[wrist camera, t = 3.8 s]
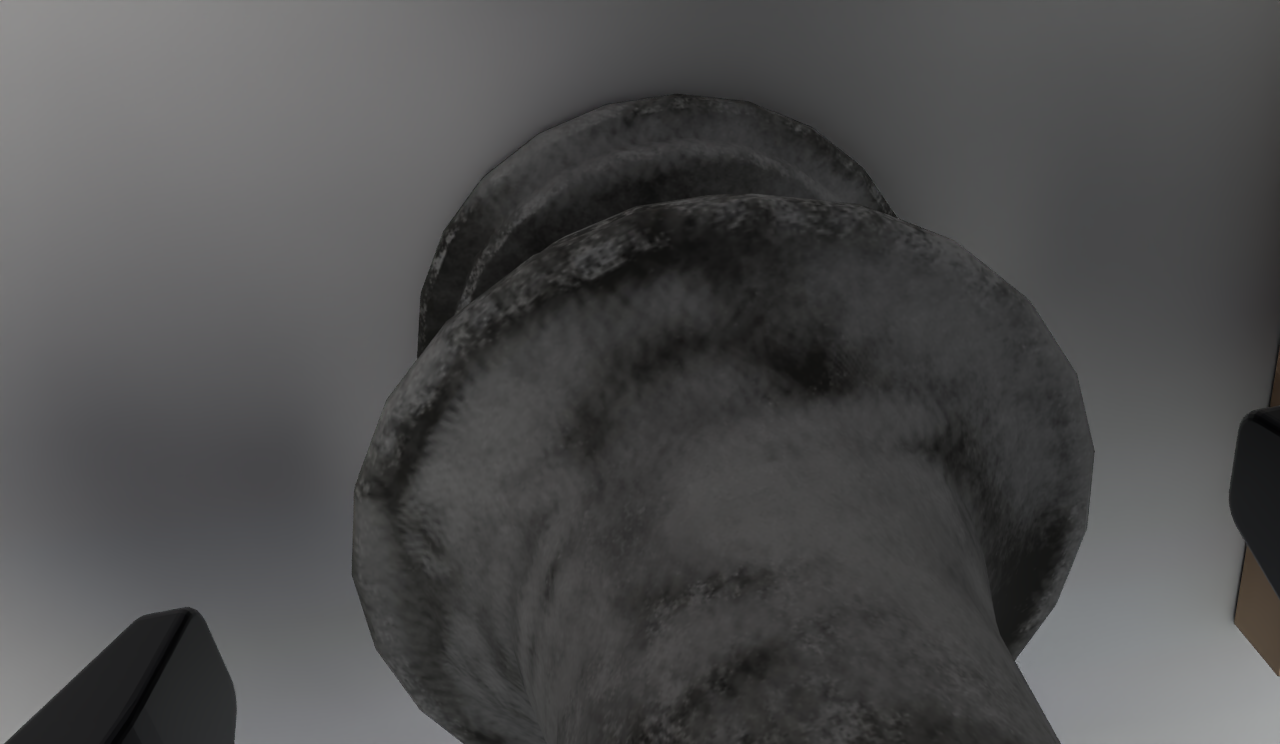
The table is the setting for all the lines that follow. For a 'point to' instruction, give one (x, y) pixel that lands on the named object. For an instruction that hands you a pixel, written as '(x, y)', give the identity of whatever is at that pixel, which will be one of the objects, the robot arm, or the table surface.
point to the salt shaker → (716, 454)
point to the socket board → (1260, 594)
